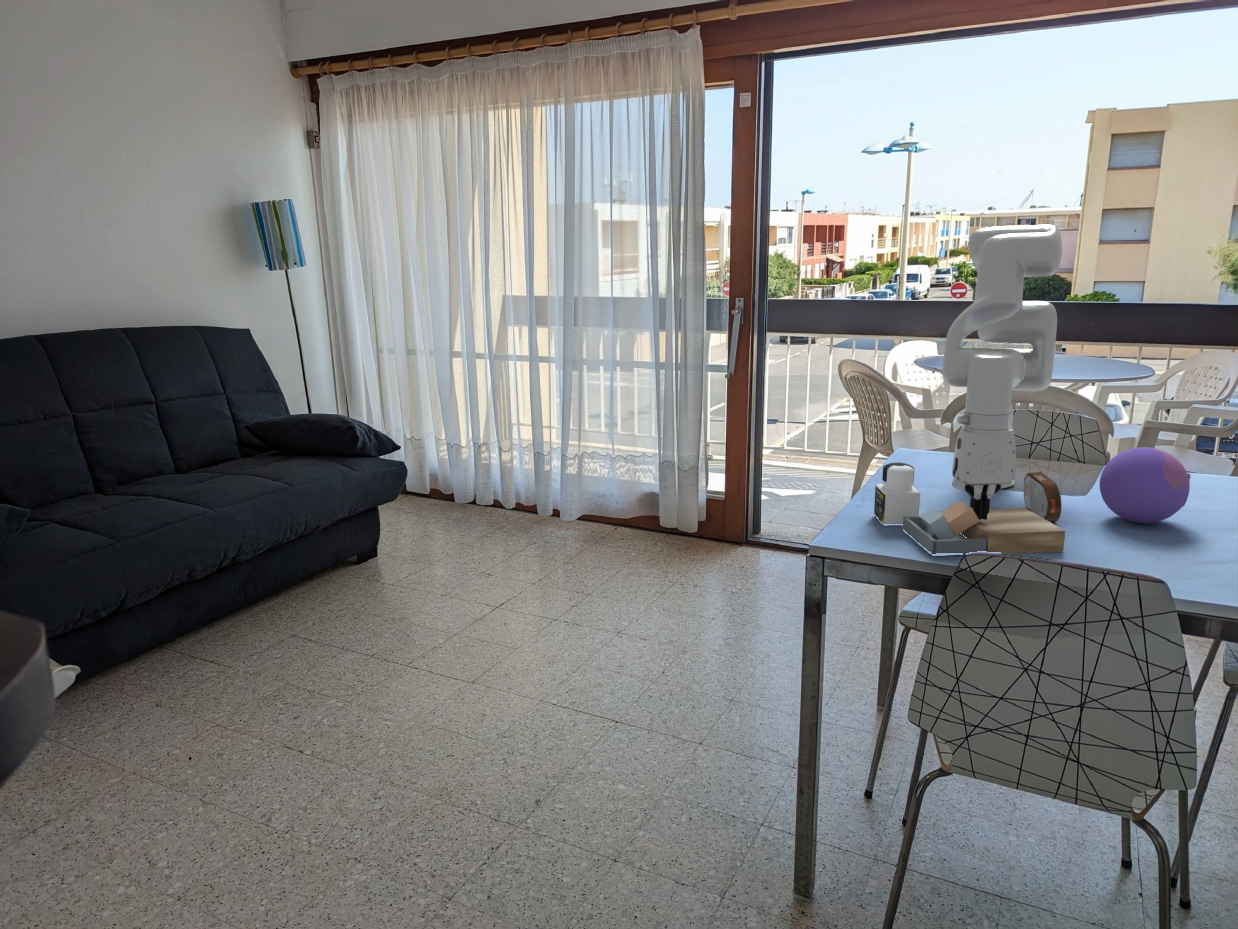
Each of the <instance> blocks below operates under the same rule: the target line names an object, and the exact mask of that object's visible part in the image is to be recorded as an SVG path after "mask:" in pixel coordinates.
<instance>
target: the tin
mask: <svg viewBox="0 0 1238 929" xmlns="http://www.w3.org/2000/svg"><path fill="white" fill-rule="evenodd" d="M1023 483H1024V484H1023V500H1024V504H1025V506H1026V509H1028V510H1029V511H1031V512H1033V513H1035V514H1037V515H1038V516H1040V517H1042V518H1044V519H1045V520H1047V521H1049V522H1051V523H1052V522H1053V523H1055V522H1056V523H1057V522H1058V521H1059V520H1060V517H1061V514H1062V496H1061V491H1060V488H1059V485H1058V484H1057V482H1056V481H1054V480H1053V479H1052V478H1050V477H1049V476H1047V475H1046V473H1044V472H1042V471H1038V472H1037V471H1035V472H1028V473H1026V474H1025V476H1024V478H1023Z"/></svg>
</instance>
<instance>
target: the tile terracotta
mask: <svg viewBox="0 0 1238 929" xmlns="http://www.w3.org/2000/svg"><path fill="white" fill-rule="evenodd" d="M940 513H941V514H943V515H944V516H945V518H946V520H947V522H948V523H949V525H950V527H951V528H952V530H953V532H954V534H955V535H958V534H959V533H961V532H963V531H964V530H966V529H967V528H969V527H971V526H972V525H974V524H976V523H977V522H979V519H978V517H977V516H976V514H975V512H974V510H973V509H972V508H971V507H970V505H968V504H966V503H965V502H963V501H962V500H959V501H958V502H956V503H954V504H952V505H951V506H950V507H948V508H946V509H944V510H942V511H941V512H940Z"/></svg>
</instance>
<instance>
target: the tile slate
mask: <svg viewBox="0 0 1238 929" xmlns="http://www.w3.org/2000/svg"><path fill="white" fill-rule="evenodd" d="M919 517H920V518H921V520H922V522H923V523H924V525H925V527H926V528H927V530H928V532H929V533H930V535H931V537H933V538H934V539H935V540H949V539H953V538H955V537H956V535H955V534H954V532H953V530H952V528H951V527H950V525H949V523H948V522H947V520H946V518H945V516H944V515H943V514H941V512H940V511H939V510H938V509H936V508H934V507H931V508H929V509H927V510H926V511H925V512H923V513H921V514H919Z"/></svg>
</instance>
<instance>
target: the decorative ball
mask: <svg viewBox="0 0 1238 929" xmlns="http://www.w3.org/2000/svg"><path fill="white" fill-rule="evenodd" d="M1190 479H1191V473H1188V472H1187V470H1186V468H1185V467H1184V465H1183V464H1182V462H1181V461H1180V460H1178V459H1177V457H1175V456H1174V455H1173V454H1170V453H1168V452H1166V451H1165V450H1162V449H1159V448H1153V447H1150V446H1149V447H1146V446H1145V447H1143V446H1141V447H1133V448H1129V449H1127V450H1124V451H1121V452H1119V453H1118V454H1116V455H1115V456H1113V457H1112V458H1110V459H1109V461H1108V462H1107V463H1106V464H1105V466H1104V467H1103V469H1102V471H1101V474H1100V477H1099V492H1100V495H1101V498H1102V500H1103V502H1104V504H1105V505H1106V506H1107V508H1108V509H1109V510H1111V512H1113V513H1114V514H1115V515H1117V516H1118V517H1120V518H1121V519H1124V520H1127V521H1129V522H1133V523H1138V524H1152V523H1158V522H1161V521H1164V520H1166V519H1168V518H1171V517H1172V516H1174V515H1175V514H1176V513H1177V512H1179V511H1180V510H1181V509H1182V508H1184V506H1185V505H1186V503H1187V501H1188V499H1189V494H1190V488H1191V486H1190V485H1191V482H1190Z"/></svg>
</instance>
